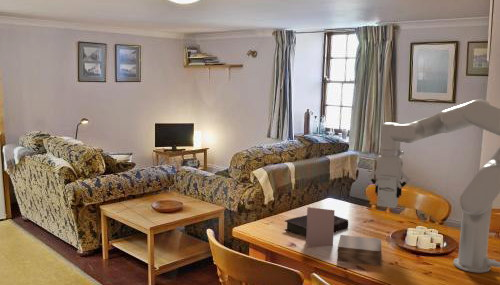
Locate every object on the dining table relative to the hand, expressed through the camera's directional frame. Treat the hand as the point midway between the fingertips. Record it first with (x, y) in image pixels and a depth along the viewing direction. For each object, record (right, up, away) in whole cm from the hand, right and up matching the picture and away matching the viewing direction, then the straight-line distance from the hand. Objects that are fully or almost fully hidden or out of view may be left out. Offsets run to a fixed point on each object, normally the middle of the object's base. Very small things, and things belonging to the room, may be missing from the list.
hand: (388, 195), depth 194 cm
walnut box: (-13, -23, -7) cm, 28 cm away
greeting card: (-28, -21, +4) cm, 35 cm away
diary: (-26, -19, +25) cm, 41 cm away
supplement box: (0, -4, +1) cm, 4 cm away
